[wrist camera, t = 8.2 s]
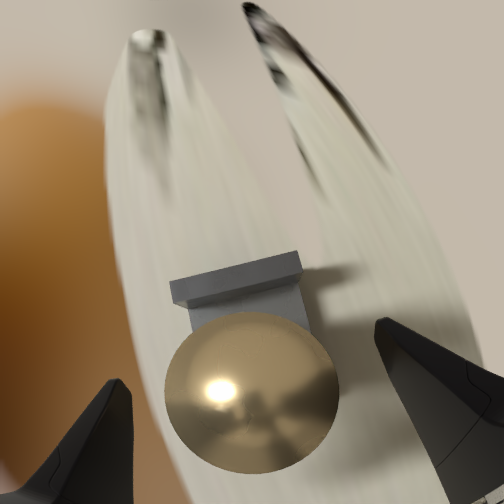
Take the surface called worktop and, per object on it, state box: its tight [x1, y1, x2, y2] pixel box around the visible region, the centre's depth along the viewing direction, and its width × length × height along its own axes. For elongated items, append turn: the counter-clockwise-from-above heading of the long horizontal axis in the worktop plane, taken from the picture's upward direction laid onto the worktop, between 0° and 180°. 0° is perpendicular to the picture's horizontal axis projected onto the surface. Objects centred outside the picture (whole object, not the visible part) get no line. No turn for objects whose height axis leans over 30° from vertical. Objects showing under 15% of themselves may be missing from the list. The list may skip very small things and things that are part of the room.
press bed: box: [170, 250, 312, 334], centre depth 16 cm, size 9×7×4 cm
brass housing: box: [164, 312, 339, 474], centre depth 12 cm, size 5×5×10 cm
